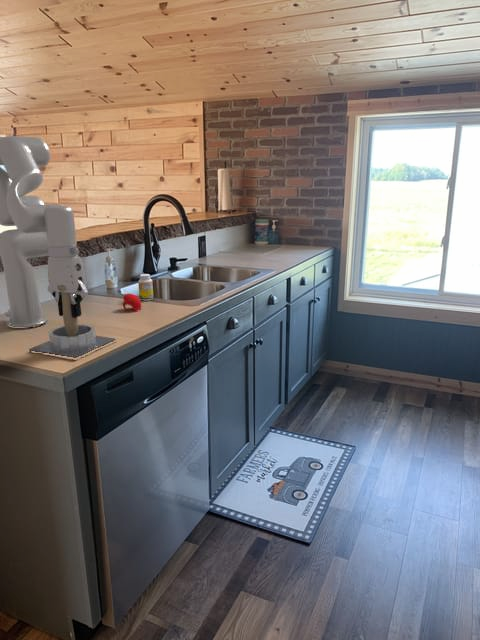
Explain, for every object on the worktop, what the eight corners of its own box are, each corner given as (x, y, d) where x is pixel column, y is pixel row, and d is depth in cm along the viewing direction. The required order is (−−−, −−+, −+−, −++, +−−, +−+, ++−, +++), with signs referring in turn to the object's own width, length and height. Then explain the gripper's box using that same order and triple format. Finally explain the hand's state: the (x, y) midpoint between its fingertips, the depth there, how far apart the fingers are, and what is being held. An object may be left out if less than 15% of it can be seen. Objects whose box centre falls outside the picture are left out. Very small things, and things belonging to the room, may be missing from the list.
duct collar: (29, 352, 135) (26, 335, 133) (71, 334, 150) (70, 319, 148) (76, 360, 128) (74, 343, 127) (115, 341, 143) (114, 325, 142)
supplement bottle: (140, 298, 195) (138, 273, 192) (153, 297, 196) (152, 273, 193) (139, 301, 190) (137, 276, 187) (153, 301, 191) (151, 275, 188)
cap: (116, 301, 177) (122, 295, 173) (127, 293, 181) (133, 287, 177) (130, 318, 178) (136, 312, 174) (140, 309, 182) (147, 304, 178)
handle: (73, 338, 134) (67, 286, 130) (58, 334, 137) (51, 284, 133) (86, 333, 138) (81, 283, 134) (71, 330, 141) (65, 281, 137)
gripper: (96, 251, 131) (102, 315, 136) (50, 248, 138) (57, 309, 143) (77, 255, 124) (84, 322, 130) (29, 252, 131) (38, 316, 136)
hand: (70, 315), depth 136 cm, fingers closed on handle, 4 cm apart
